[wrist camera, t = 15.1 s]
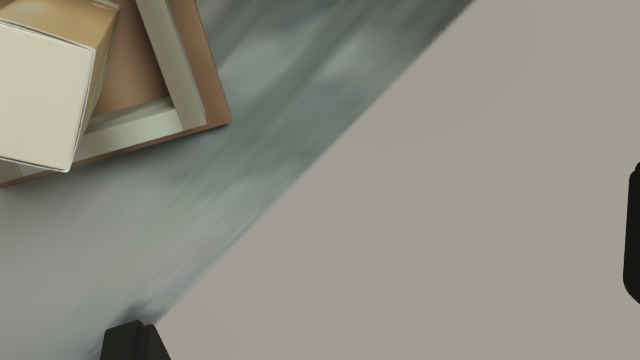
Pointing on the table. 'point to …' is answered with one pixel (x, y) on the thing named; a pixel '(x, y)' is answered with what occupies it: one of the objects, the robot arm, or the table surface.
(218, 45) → the table surface
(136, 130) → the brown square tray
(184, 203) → the table surface
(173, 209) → the table surface
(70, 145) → the skincare box
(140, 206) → the table surface
